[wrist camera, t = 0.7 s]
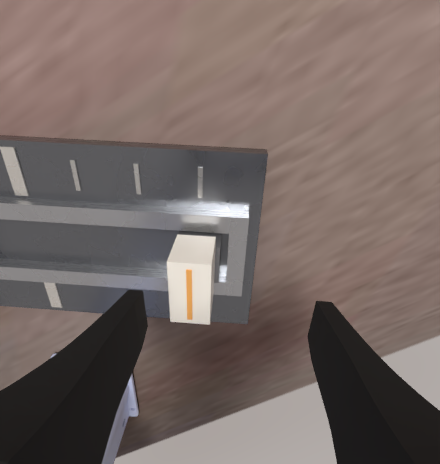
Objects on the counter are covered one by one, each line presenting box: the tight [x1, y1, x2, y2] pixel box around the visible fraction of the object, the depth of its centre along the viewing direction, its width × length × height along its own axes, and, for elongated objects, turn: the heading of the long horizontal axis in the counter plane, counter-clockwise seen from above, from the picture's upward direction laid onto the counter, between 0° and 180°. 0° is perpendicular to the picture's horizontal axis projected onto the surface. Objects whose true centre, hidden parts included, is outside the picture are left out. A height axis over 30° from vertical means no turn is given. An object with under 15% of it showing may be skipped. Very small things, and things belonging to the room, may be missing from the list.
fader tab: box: [167, 231, 222, 325], centre depth 18 cm, size 4×3×5 cm
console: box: [0, 135, 268, 324], centre depth 21 cm, size 14×22×2 cm, turn 88°
